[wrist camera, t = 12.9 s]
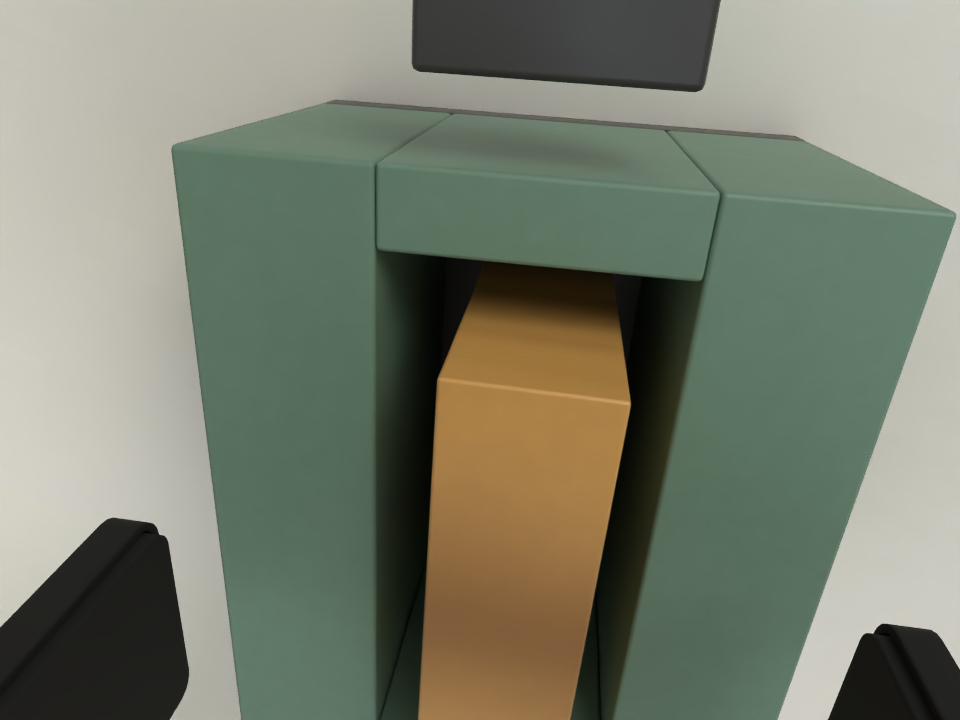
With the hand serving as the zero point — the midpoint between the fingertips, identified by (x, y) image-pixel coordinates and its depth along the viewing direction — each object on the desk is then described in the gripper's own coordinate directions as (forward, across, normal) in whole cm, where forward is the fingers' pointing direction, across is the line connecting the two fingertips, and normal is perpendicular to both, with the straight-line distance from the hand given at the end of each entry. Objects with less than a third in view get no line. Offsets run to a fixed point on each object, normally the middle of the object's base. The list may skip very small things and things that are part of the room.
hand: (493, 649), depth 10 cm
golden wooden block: (+8, 0, 0) cm, 8 cm away
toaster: (+9, 0, 0) cm, 9 cm away
